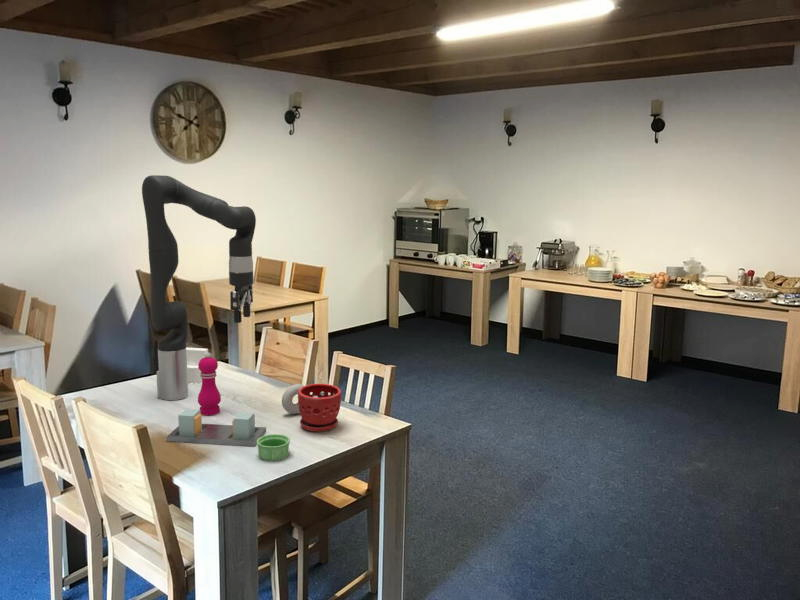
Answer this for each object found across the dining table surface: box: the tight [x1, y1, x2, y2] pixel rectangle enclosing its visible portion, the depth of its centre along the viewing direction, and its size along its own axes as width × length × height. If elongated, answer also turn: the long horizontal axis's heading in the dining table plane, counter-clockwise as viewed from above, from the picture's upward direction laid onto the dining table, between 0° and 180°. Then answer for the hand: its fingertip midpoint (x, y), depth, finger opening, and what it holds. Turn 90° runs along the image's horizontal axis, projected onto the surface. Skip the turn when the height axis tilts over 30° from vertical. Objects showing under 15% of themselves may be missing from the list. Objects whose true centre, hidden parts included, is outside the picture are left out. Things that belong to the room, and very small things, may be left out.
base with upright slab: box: [186, 346, 209, 385], centre depth 244 cm, size 9×9×12 cm
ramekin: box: [256, 433, 291, 461], centre depth 181 cm, size 9×9×4 cm
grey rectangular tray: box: [166, 423, 267, 448], centre depth 193 cm, size 26×11×2 cm, turn 84°
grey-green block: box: [231, 411, 256, 440], centre depth 191 cm, size 5×5×7 cm
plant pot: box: [297, 383, 342, 433], centre depth 201 cm, size 13×13×12 cm
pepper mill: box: [197, 352, 222, 416], centre depth 211 cm, size 7×7×20 cm
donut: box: [281, 383, 305, 415], centre depth 212 cm, size 10×3×10 cm, turn 126°
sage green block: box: [177, 408, 203, 436], centre depth 193 cm, size 5×5×7 cm
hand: (242, 319), depth 211 cm, fingers open, 8 cm apart
